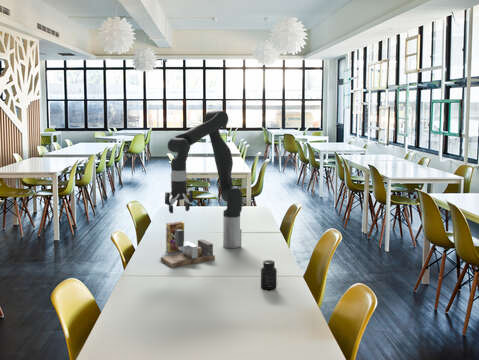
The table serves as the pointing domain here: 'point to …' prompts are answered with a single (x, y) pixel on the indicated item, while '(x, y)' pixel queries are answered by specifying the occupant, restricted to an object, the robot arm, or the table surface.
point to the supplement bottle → (268, 276)
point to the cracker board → (185, 260)
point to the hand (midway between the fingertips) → (179, 211)
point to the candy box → (172, 235)
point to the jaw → (185, 245)
